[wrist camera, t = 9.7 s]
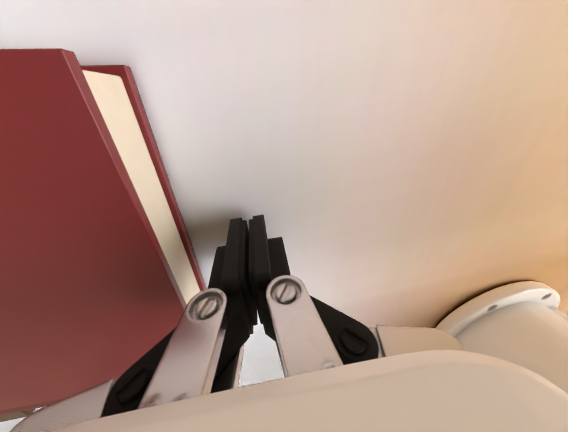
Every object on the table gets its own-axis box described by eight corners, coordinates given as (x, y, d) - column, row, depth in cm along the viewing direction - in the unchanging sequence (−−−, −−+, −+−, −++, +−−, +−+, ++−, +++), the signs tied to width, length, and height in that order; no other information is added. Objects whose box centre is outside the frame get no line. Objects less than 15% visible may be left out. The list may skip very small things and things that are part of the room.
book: (130, 66, 7) (61, 47, 4) (220, 328, 15) (214, 374, 13) (-332, 74, 6) (-819, 54, 3) (42, 357, 14) (-5, 416, 11)
